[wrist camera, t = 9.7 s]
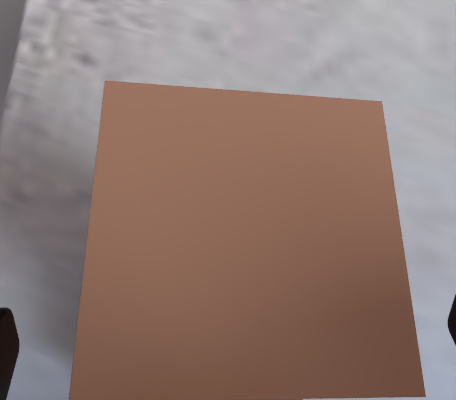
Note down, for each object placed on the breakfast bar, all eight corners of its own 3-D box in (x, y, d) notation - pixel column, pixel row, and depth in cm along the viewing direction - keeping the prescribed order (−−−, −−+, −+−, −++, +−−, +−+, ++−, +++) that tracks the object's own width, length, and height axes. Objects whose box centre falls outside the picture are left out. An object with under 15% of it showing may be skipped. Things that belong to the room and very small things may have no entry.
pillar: (253, 375, 17) (426, 396, 6) (135, 375, 16) (69, 402, 5) (251, 260, 18) (382, 101, 7) (142, 257, 18) (105, 81, 7)
